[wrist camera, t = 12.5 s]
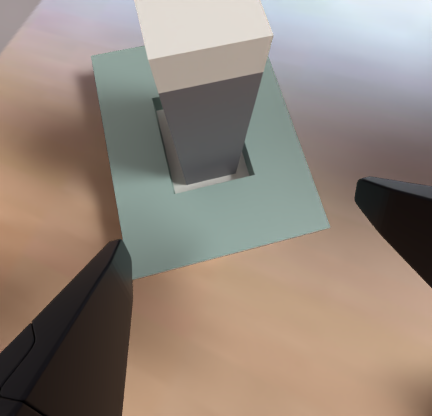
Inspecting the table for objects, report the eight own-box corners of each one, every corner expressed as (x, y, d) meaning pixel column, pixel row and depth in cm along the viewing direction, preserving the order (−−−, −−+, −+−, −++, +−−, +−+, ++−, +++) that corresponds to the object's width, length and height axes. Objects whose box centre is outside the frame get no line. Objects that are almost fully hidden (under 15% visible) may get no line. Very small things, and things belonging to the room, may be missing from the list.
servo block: (235, 173, 19) (273, 35, 8) (186, 185, 19) (148, 59, 7) (216, 108, 21) (224, -94, 9) (170, 118, 20) (115, -78, 9)
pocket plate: (317, 231, 19) (330, 227, 17) (139, 278, 18) (129, 280, 16) (252, 46, 23) (256, 24, 21) (102, 76, 22) (90, 55, 20)
